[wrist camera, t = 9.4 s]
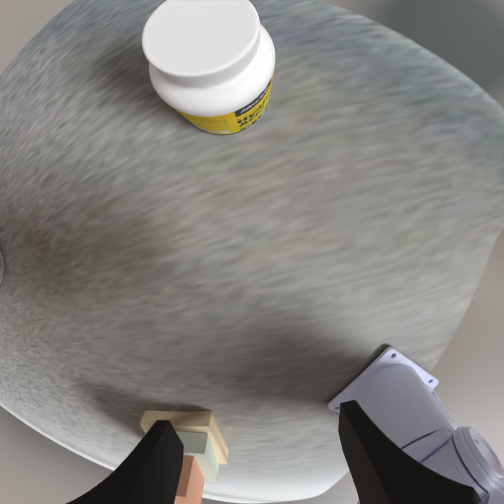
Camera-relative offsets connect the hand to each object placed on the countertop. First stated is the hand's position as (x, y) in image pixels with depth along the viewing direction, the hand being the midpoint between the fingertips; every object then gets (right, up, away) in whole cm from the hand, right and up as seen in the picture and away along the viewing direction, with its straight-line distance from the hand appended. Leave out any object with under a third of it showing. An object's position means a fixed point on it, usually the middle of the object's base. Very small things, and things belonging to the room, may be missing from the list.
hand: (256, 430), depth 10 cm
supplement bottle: (-2, +17, +6) cm, 18 cm away
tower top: (-7, -12, +12) cm, 18 cm away
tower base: (-7, -11, +14) cm, 19 cm away
